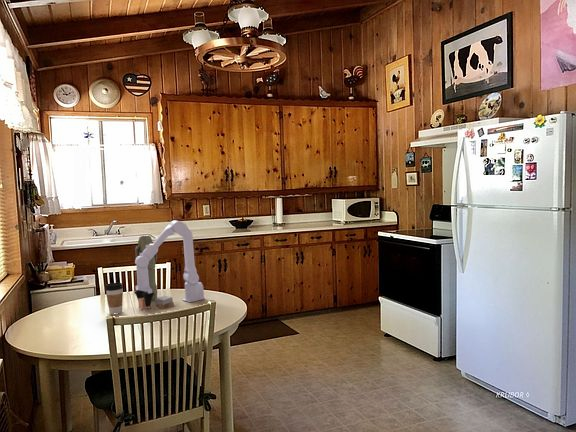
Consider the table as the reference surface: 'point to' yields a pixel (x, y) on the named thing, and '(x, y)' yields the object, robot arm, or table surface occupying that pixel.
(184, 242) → the robot arm
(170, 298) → the tower middle
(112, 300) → the coffee cup
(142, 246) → the stone statue
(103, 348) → the table surface
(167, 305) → the tower base
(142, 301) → the terracotta block
